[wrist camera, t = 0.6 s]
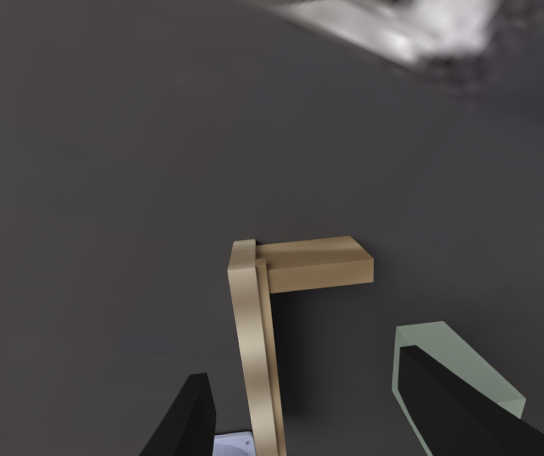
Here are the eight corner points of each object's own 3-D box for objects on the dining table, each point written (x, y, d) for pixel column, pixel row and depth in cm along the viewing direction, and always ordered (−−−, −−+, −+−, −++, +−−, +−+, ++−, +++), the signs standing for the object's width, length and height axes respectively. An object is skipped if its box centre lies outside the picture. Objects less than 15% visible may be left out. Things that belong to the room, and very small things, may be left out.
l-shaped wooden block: (349, 396, 24) (370, 452, 19) (258, 407, 23) (258, 466, 19) (350, 229, 19) (378, 254, 14) (234, 241, 18) (227, 270, 14)
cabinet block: (439, 383, 24) (510, 476, 17) (391, 389, 24) (444, 485, 17) (448, 320, 22) (534, 397, 15) (396, 326, 22) (458, 407, 15)
